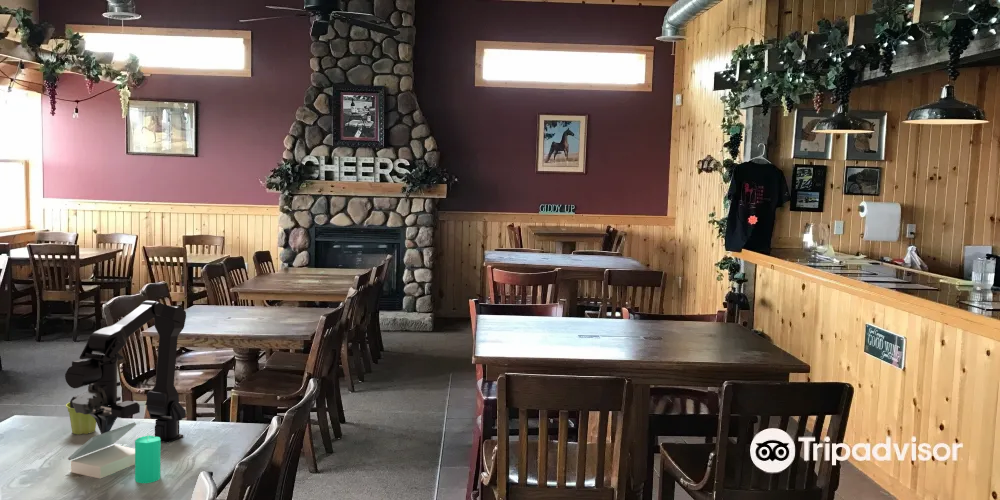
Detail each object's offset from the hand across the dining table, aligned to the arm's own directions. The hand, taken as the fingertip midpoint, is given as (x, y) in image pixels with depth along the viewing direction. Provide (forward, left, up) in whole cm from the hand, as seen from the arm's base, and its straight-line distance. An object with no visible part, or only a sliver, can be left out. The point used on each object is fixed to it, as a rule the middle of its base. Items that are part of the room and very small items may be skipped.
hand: (104, 436), depth 205 cm
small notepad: (0, +1, -8) cm, 8 cm away
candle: (+2, +17, -8) cm, 19 cm away
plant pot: (-18, -27, -8) cm, 34 cm away
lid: (0, 0, -2) cm, 2 cm away
